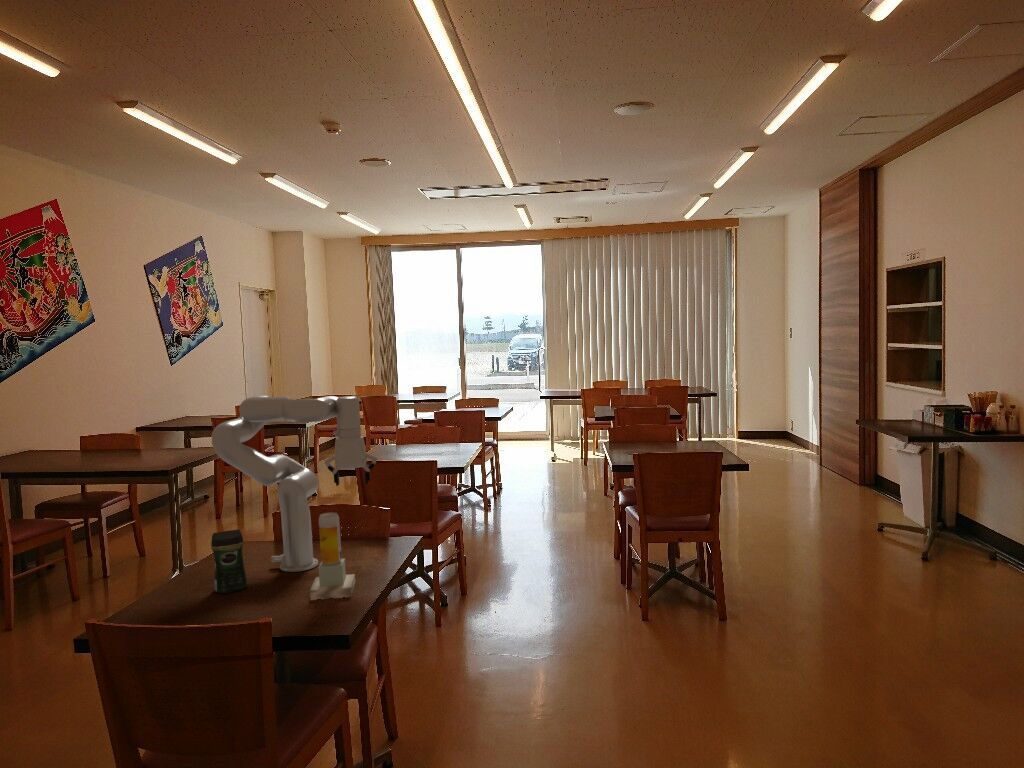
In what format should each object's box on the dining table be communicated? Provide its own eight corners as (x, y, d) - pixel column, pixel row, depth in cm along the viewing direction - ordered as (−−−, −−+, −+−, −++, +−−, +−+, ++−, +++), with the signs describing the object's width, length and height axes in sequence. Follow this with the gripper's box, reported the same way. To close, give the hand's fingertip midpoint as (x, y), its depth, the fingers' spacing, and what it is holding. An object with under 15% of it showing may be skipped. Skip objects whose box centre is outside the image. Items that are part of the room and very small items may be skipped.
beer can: (323, 560, 228) (320, 512, 227) (343, 559, 229) (340, 511, 228) (319, 566, 222) (316, 517, 221) (340, 565, 223) (337, 516, 221)
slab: (310, 600, 219) (309, 590, 219) (316, 586, 231) (316, 577, 231) (351, 596, 221) (351, 587, 221) (355, 583, 233) (354, 574, 232)
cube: (319, 586, 222) (318, 567, 221) (322, 579, 229) (321, 560, 228) (343, 585, 223) (342, 565, 222) (345, 577, 230) (344, 558, 229)
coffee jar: (246, 582, 238) (242, 526, 236) (247, 590, 231) (243, 531, 229) (214, 587, 234) (209, 530, 233) (214, 595, 227) (210, 536, 225)
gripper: (321, 436, 241) (324, 488, 243) (374, 433, 243) (377, 484, 244) (324, 433, 249) (327, 483, 250) (376, 430, 251) (379, 480, 252)
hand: (352, 484), depth 247 cm, fingers open, 9 cm apart
